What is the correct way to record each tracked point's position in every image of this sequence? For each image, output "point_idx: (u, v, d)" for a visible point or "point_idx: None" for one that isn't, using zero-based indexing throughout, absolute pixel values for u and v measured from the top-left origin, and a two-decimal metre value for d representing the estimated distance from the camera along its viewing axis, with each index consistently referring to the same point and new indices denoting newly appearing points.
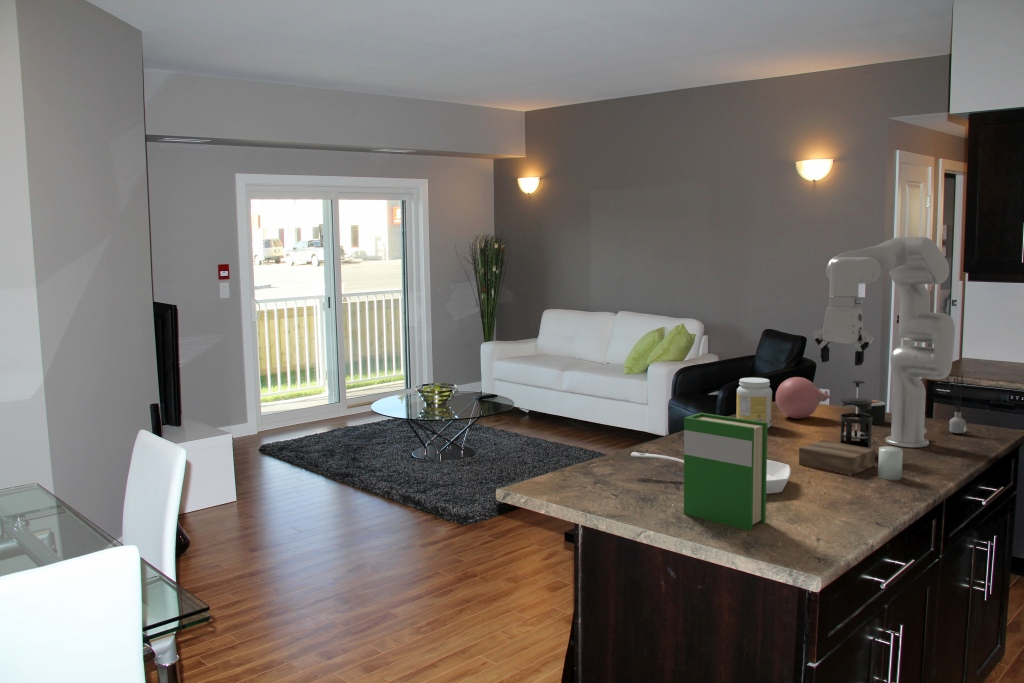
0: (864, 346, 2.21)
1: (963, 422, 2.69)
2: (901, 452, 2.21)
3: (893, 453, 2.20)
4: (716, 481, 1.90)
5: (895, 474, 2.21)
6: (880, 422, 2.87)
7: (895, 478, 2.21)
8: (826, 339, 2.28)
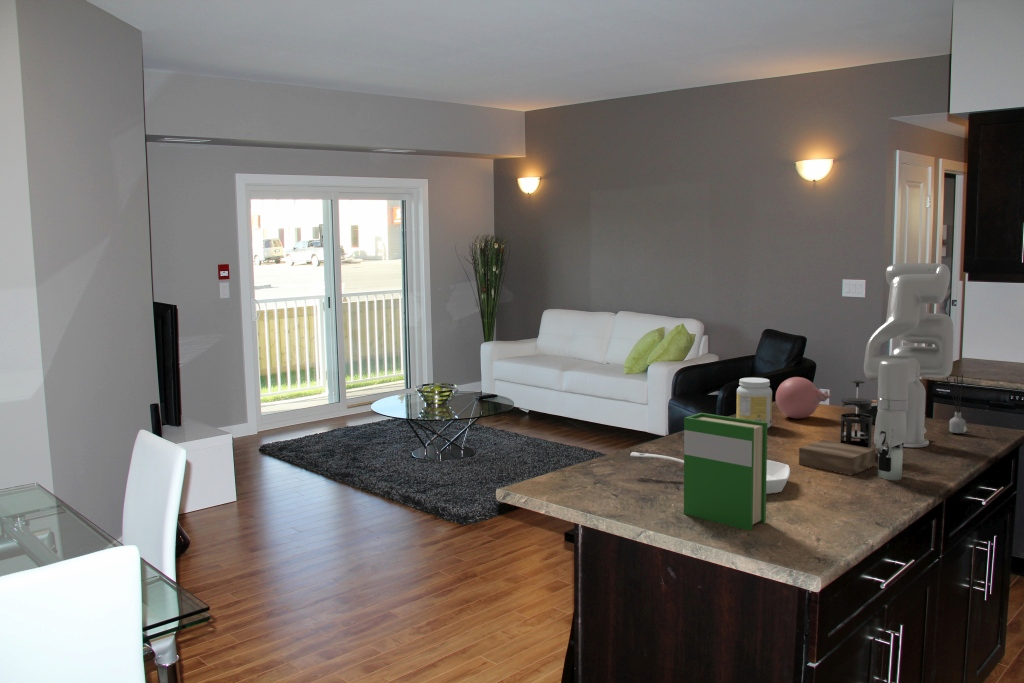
0: None
1: (963, 422, 2.69)
2: (901, 452, 2.21)
3: (893, 453, 2.20)
4: (716, 481, 1.90)
5: (895, 474, 2.21)
6: None
7: (895, 478, 2.21)
8: (892, 445, 2.19)
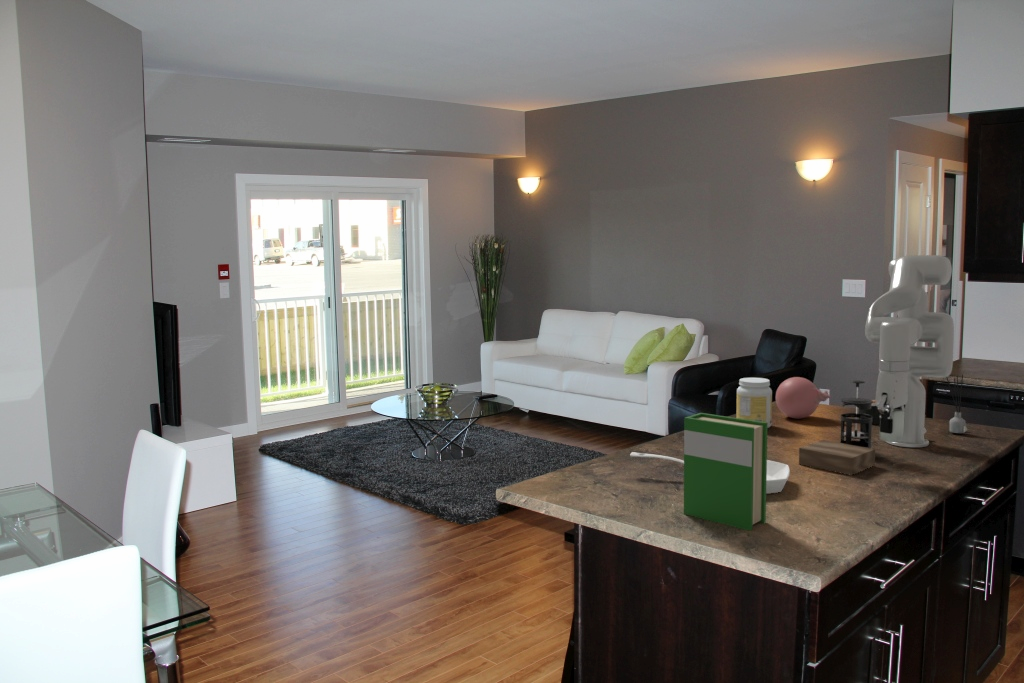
0: (903, 408, 2.25)
1: (963, 422, 2.69)
2: (903, 414, 2.20)
3: (895, 415, 2.19)
4: (716, 481, 1.90)
5: (897, 435, 2.20)
6: None
7: (897, 440, 2.20)
8: (894, 406, 2.18)
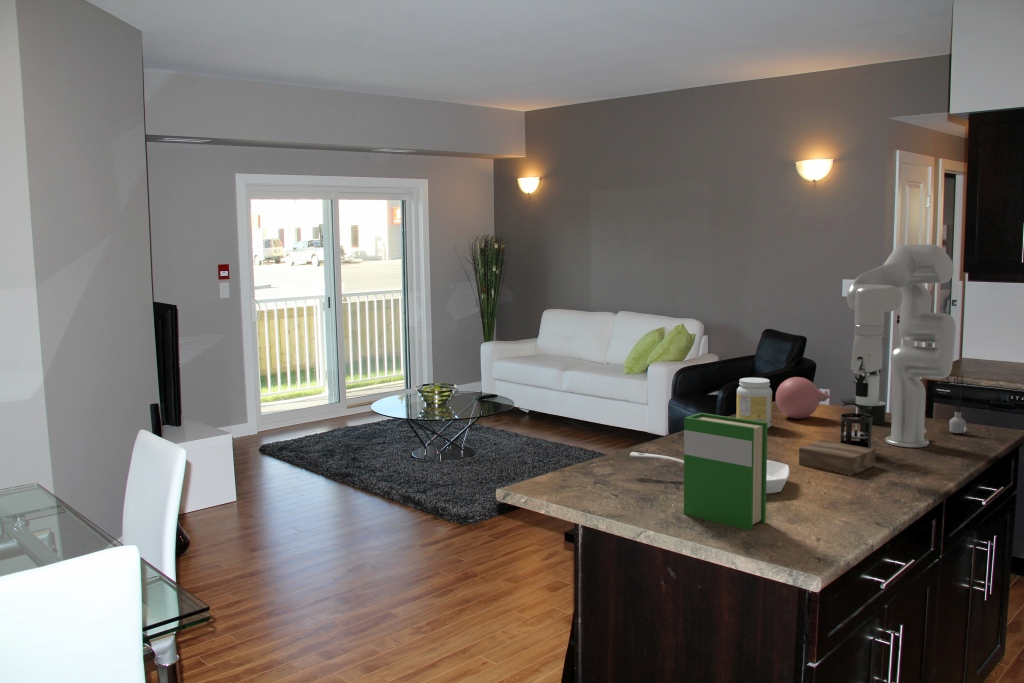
0: (878, 373, 2.29)
1: (963, 422, 2.69)
2: (878, 378, 2.24)
3: (870, 378, 2.23)
4: (716, 481, 1.90)
5: (872, 399, 2.24)
6: (880, 422, 2.87)
7: (872, 403, 2.24)
8: (869, 370, 2.22)
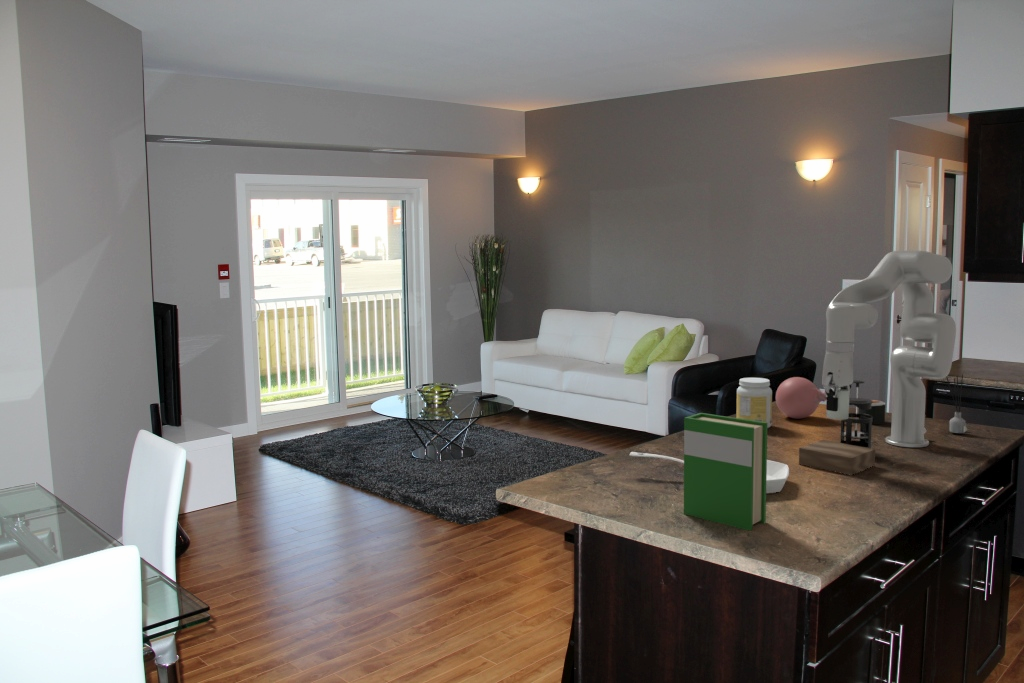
0: (849, 388, 2.36)
1: (963, 422, 2.69)
2: (848, 393, 2.31)
3: (840, 393, 2.31)
4: (716, 481, 1.90)
5: (842, 413, 2.31)
6: (880, 422, 2.87)
7: (842, 417, 2.32)
8: (839, 385, 2.30)
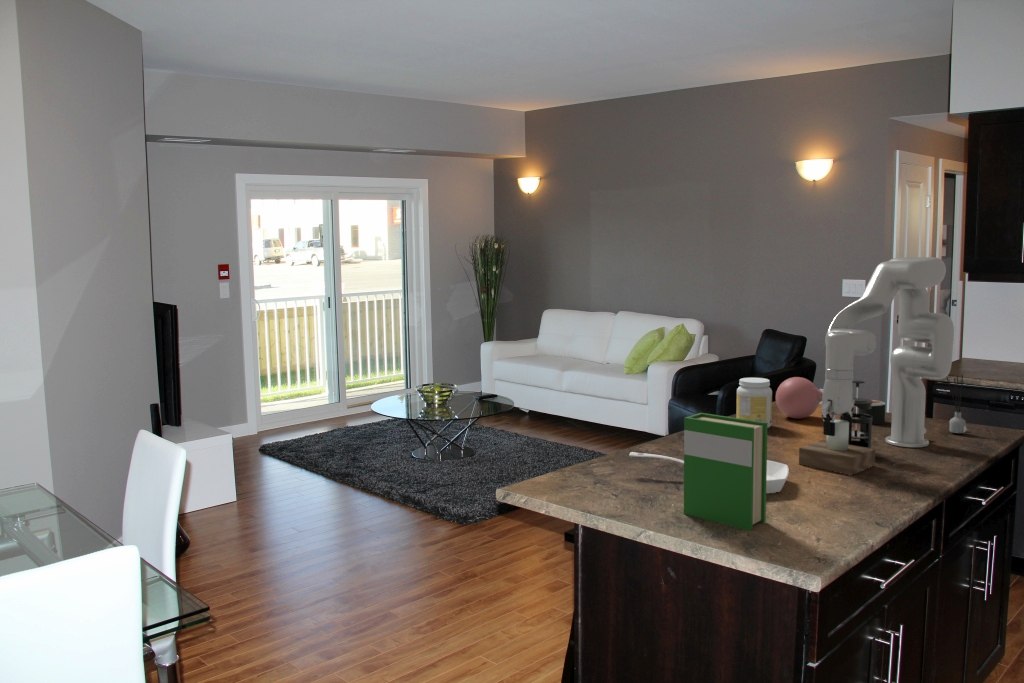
0: (851, 411, 2.38)
1: (963, 422, 2.69)
2: (847, 424, 2.33)
3: (839, 425, 2.32)
4: (716, 481, 1.90)
5: (841, 445, 2.33)
6: (880, 422, 2.87)
7: (841, 449, 2.33)
8: (838, 412, 2.31)
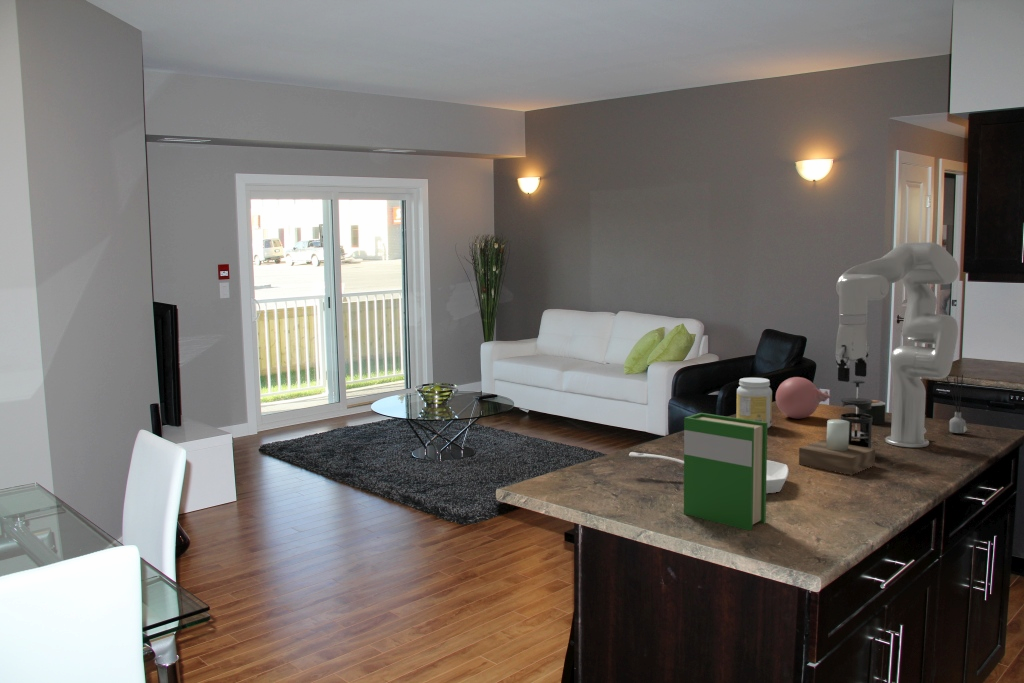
0: (866, 357, 2.37)
1: (963, 422, 2.69)
2: (847, 424, 2.33)
3: (840, 425, 2.32)
4: (716, 481, 1.90)
5: (841, 445, 2.33)
6: (880, 422, 2.87)
7: (841, 449, 2.33)
8: (852, 358, 2.29)
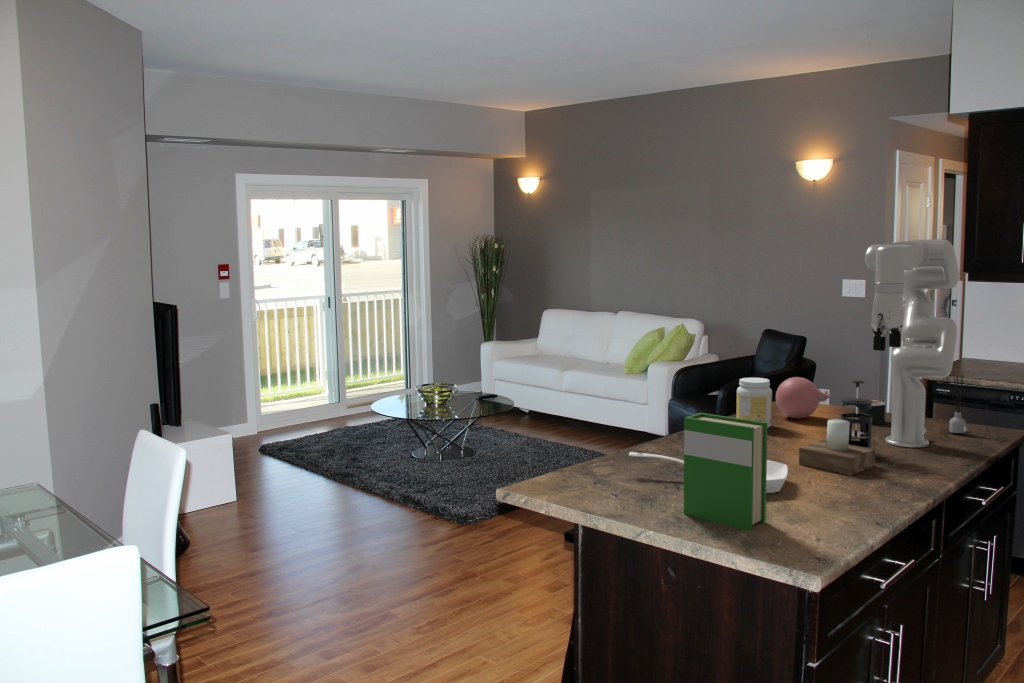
0: (900, 328, 2.35)
1: (963, 422, 2.69)
2: (847, 424, 2.33)
3: (839, 425, 2.32)
4: (716, 481, 1.90)
5: (841, 445, 2.33)
6: (880, 422, 2.87)
7: (841, 449, 2.33)
8: (889, 327, 2.27)
